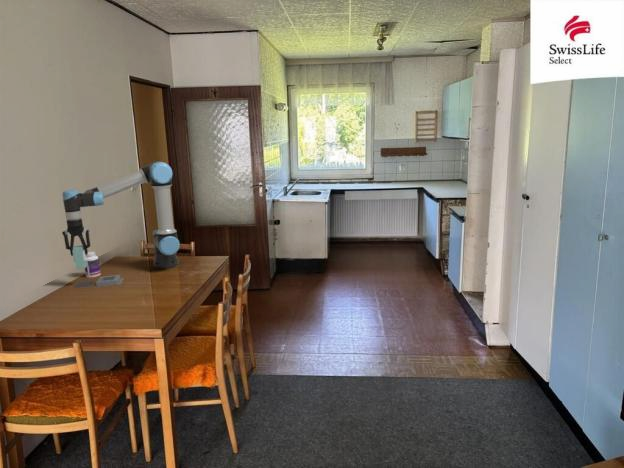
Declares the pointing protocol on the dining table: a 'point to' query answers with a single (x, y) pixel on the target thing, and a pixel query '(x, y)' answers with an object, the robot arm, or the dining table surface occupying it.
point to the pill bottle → (92, 265)
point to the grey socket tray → (108, 281)
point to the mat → (84, 284)
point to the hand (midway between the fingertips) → (80, 260)
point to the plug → (79, 257)
